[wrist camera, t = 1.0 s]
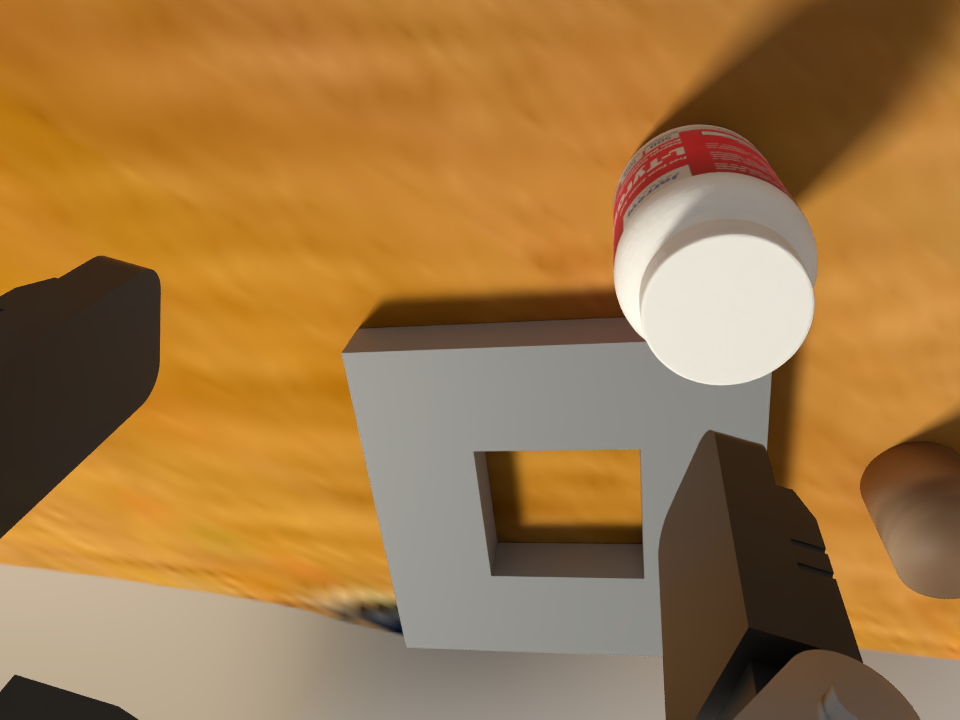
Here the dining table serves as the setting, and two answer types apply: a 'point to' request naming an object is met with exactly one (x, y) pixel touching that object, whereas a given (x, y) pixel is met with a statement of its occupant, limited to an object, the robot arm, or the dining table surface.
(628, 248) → the pill bottle
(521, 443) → the hole plate
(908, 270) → the dining table surface
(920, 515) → the walnut stub
